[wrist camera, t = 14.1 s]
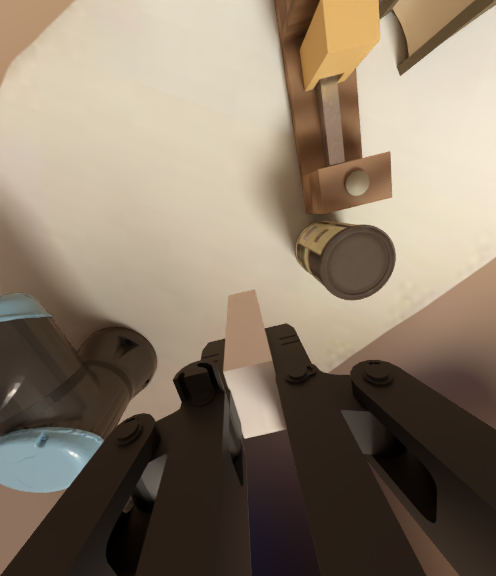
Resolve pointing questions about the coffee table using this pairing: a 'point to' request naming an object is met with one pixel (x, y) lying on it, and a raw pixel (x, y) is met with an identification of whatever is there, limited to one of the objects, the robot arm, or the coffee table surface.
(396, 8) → the book
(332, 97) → the bar
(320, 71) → the carriage
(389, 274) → the coffee can
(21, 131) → the coffee table surface
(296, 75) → the wooden base
